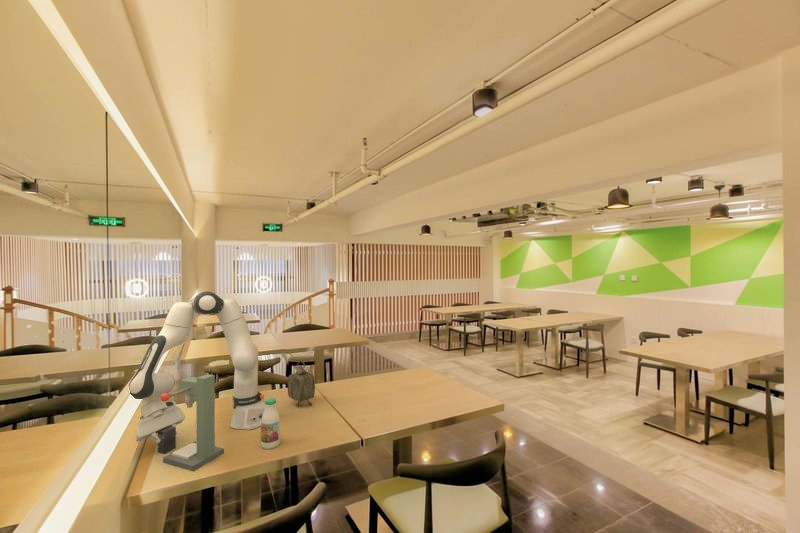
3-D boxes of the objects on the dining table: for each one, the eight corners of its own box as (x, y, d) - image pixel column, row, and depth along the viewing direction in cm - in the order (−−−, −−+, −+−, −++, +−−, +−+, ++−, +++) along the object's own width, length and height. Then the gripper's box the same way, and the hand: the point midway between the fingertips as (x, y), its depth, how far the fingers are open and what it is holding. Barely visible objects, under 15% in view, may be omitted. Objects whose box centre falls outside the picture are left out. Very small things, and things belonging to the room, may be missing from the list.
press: (143, 472, 132) (143, 383, 132) (195, 445, 152) (194, 368, 152) (174, 482, 126) (174, 388, 126) (224, 453, 146) (223, 372, 146)
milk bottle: (264, 441, 156) (264, 396, 156) (281, 440, 156) (281, 395, 156) (258, 450, 148) (258, 403, 148) (277, 449, 149) (277, 402, 149)
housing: (169, 446, 151) (169, 425, 151) (175, 448, 150) (175, 427, 150) (157, 452, 147) (157, 430, 147) (164, 454, 145) (164, 432, 145)
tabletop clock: (315, 405, 196) (314, 361, 196) (301, 410, 189) (300, 364, 189) (300, 399, 205) (300, 357, 205) (286, 404, 198) (286, 360, 198)
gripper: (129, 417, 141) (145, 446, 138) (178, 399, 160) (193, 424, 157) (122, 426, 143) (138, 455, 139) (171, 408, 162) (186, 432, 158)
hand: (167, 438), depth 148 cm, fingers closed on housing, 5 cm apart
